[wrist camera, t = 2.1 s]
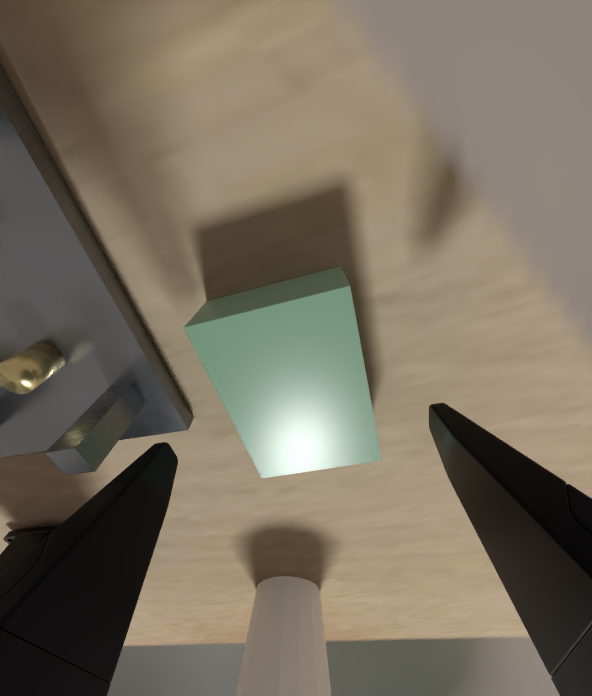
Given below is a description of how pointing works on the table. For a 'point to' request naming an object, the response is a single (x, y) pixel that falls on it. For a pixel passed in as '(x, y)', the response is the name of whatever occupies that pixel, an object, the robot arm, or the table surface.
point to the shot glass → (285, 641)
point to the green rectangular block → (291, 372)
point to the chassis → (66, 321)
